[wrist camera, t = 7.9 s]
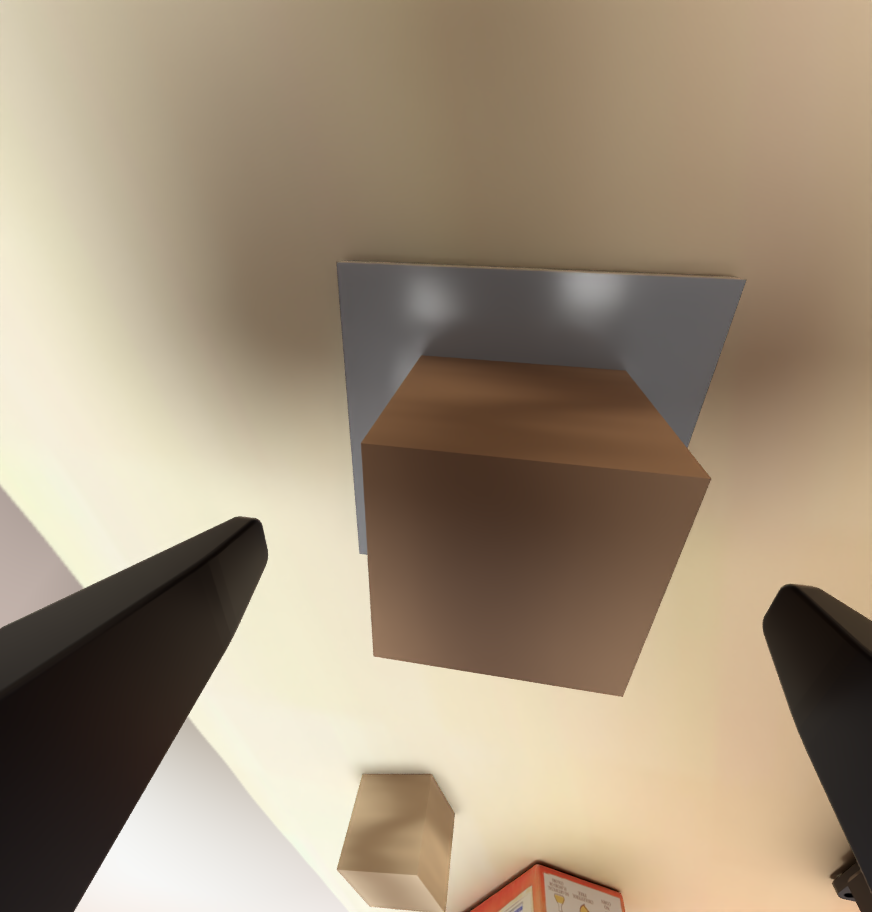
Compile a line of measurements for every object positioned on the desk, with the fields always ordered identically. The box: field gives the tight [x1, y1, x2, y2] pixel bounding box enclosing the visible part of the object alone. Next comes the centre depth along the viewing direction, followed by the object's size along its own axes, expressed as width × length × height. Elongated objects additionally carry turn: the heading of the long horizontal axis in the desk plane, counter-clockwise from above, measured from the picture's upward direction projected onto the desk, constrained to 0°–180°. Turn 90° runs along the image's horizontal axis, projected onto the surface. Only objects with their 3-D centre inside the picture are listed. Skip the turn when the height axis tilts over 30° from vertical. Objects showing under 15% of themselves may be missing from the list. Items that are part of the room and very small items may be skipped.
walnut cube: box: [361, 355, 711, 697], centre depth 10 cm, size 5×5×5 cm
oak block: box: [337, 774, 455, 912], centre depth 22 cm, size 4×4×4 cm
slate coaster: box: [337, 260, 746, 555], centre depth 12 cm, size 9×9×1 cm
